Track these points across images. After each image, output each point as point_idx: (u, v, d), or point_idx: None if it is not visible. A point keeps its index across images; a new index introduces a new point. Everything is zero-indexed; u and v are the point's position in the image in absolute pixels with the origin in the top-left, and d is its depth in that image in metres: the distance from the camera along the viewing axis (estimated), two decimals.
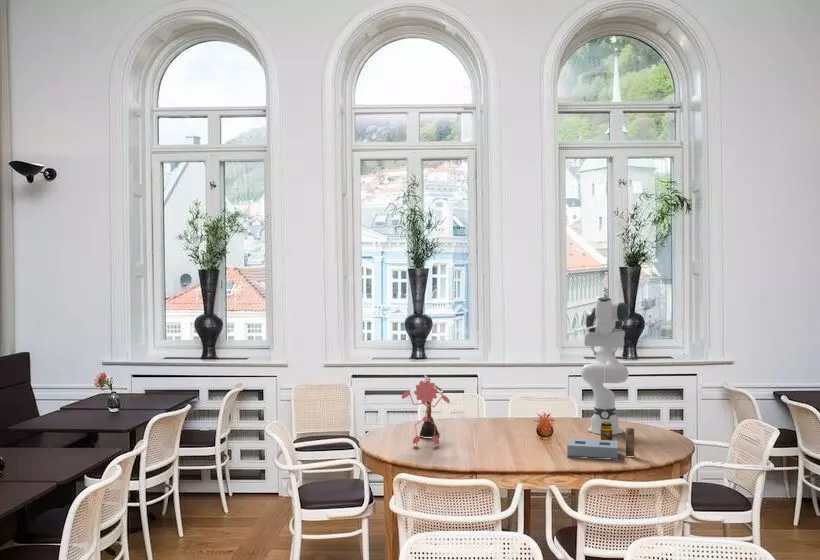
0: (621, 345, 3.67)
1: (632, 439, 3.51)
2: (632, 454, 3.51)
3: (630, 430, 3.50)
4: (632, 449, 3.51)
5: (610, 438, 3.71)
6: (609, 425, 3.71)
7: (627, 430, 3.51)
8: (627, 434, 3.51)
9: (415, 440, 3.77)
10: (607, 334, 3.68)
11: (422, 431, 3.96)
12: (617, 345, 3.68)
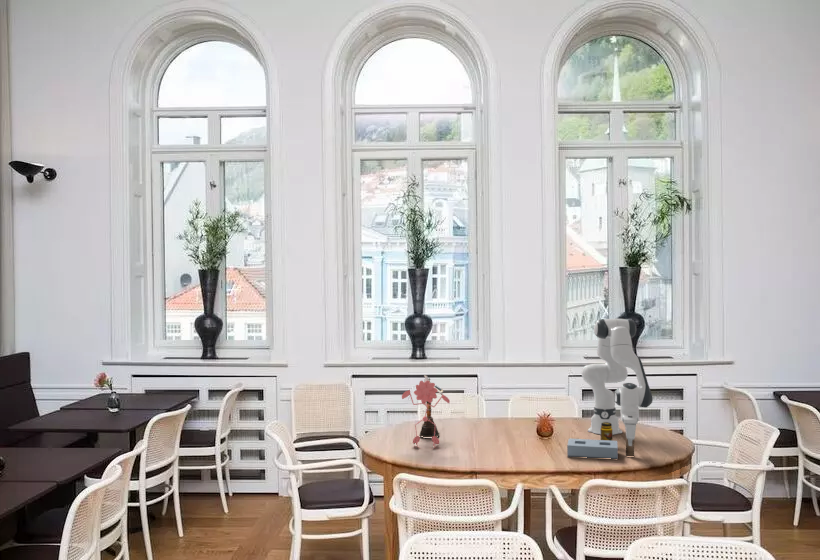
0: None
1: None
2: (632, 454, 3.51)
3: None
4: (632, 449, 3.51)
5: (610, 438, 3.71)
6: (609, 425, 3.71)
7: None
8: None
9: (415, 440, 3.77)
10: None
11: (422, 431, 3.96)
12: None
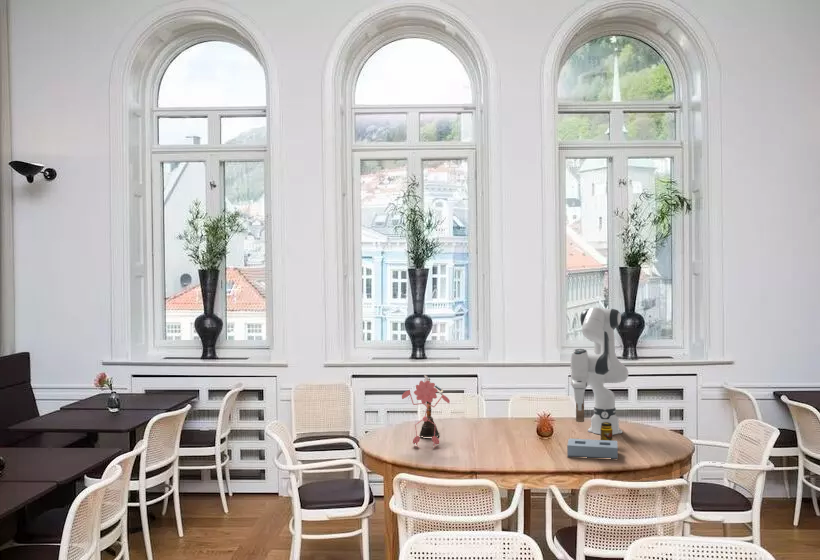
0: None
1: (582, 404, 3.56)
2: (582, 419, 3.56)
3: None
4: (582, 414, 3.56)
5: (610, 438, 3.71)
6: (609, 425, 3.71)
7: None
8: None
9: (415, 440, 3.77)
10: None
11: (422, 431, 3.96)
12: None
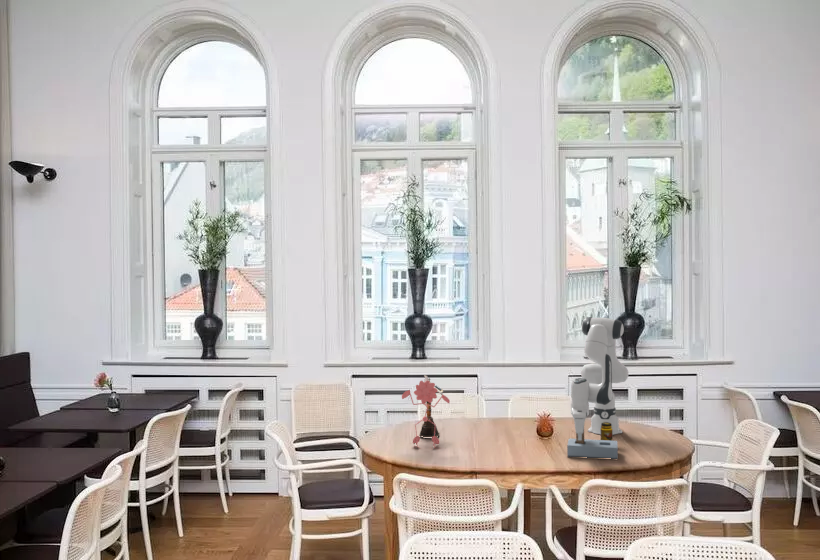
0: None
1: (582, 435, 3.56)
2: None
3: None
4: None
5: (610, 438, 3.71)
6: (609, 425, 3.71)
7: None
8: None
9: (415, 440, 3.77)
10: None
11: (422, 431, 3.96)
12: None
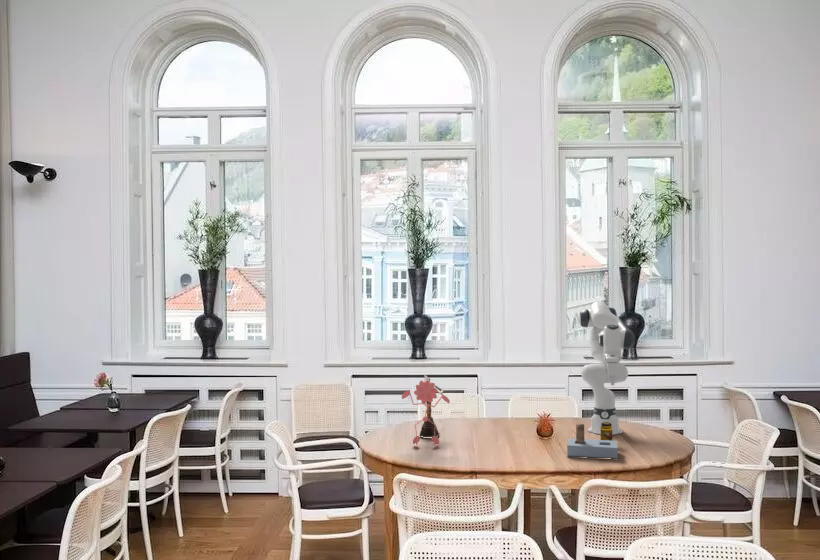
0: None
1: (582, 435, 3.56)
2: None
3: (580, 426, 3.56)
4: None
5: (610, 438, 3.71)
6: (609, 425, 3.71)
7: (577, 426, 3.57)
8: (577, 430, 3.57)
9: (415, 440, 3.77)
10: None
11: (422, 431, 3.96)
12: None
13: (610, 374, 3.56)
